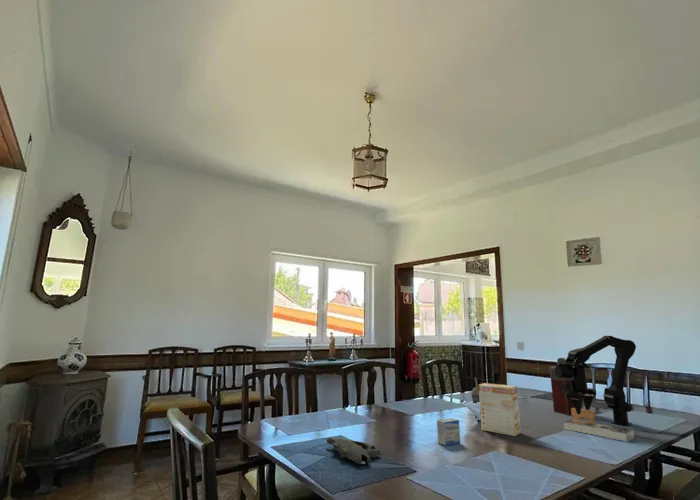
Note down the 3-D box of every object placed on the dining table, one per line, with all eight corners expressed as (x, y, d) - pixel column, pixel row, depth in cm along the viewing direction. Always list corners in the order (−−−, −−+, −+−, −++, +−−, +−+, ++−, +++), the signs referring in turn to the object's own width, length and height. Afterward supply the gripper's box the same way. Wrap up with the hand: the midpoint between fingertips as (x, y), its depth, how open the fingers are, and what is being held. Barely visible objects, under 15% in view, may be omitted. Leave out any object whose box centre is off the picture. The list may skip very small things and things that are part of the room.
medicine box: (445, 446, 150) (444, 422, 152) (437, 443, 154) (436, 420, 156) (460, 443, 154) (459, 420, 156) (452, 440, 158) (451, 417, 159)
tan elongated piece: (353, 452, 128) (391, 451, 135) (323, 432, 150) (357, 432, 157) (352, 469, 127) (390, 467, 134) (322, 446, 149) (356, 445, 155)
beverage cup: (489, 421, 186) (486, 378, 190) (473, 421, 188) (470, 378, 191) (487, 418, 193) (484, 376, 197) (472, 417, 195) (469, 376, 199)
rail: (572, 426, 178) (572, 419, 179) (634, 438, 159) (633, 430, 160) (564, 429, 173) (563, 421, 174) (626, 441, 155) (625, 433, 155)
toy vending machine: (584, 413, 203) (577, 357, 208) (568, 415, 199) (562, 358, 204) (568, 409, 211) (563, 356, 216) (553, 411, 207) (548, 357, 212)
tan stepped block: (575, 422, 185) (574, 407, 186) (596, 426, 178) (594, 411, 179) (572, 423, 183) (570, 408, 184) (593, 427, 176) (591, 412, 177)
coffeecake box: (521, 433, 167) (517, 385, 171) (515, 436, 162) (511, 387, 166) (487, 427, 178) (484, 382, 181) (480, 430, 172) (477, 384, 176)
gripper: (570, 374, 196) (574, 407, 193) (552, 377, 185) (555, 412, 182) (594, 376, 188) (598, 411, 185) (577, 380, 177) (581, 416, 174)
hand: (583, 412), depth 182 cm, fingers open, 9 cm apart
